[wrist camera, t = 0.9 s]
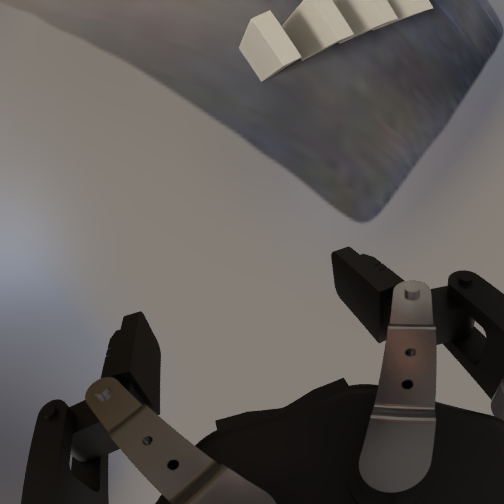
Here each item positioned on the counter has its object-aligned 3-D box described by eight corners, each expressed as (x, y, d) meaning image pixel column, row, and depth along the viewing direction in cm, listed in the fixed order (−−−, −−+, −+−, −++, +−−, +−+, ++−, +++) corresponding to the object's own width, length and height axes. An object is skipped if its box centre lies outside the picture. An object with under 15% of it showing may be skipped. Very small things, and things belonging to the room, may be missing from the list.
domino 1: (238, 48, 27) (251, 18, 18) (252, 41, 27) (269, 10, 17) (261, 81, 28) (283, 66, 19) (274, 74, 28) (301, 57, 19)
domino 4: (353, -1, 25) (397, -29, 16) (363, -4, 25) (409, -31, 16) (372, 30, 27) (423, 10, 18) (382, 27, 27) (433, 8, 18)
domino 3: (318, 11, 26) (357, -20, 16) (329, 7, 25) (371, -24, 16) (339, 44, 27) (385, 22, 18) (350, 39, 27) (398, 18, 18)
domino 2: (280, 27, 26) (307, -5, 17) (292, 22, 26) (324, -11, 17) (301, 61, 28) (338, 40, 19) (314, 55, 28) (354, 34, 19)
